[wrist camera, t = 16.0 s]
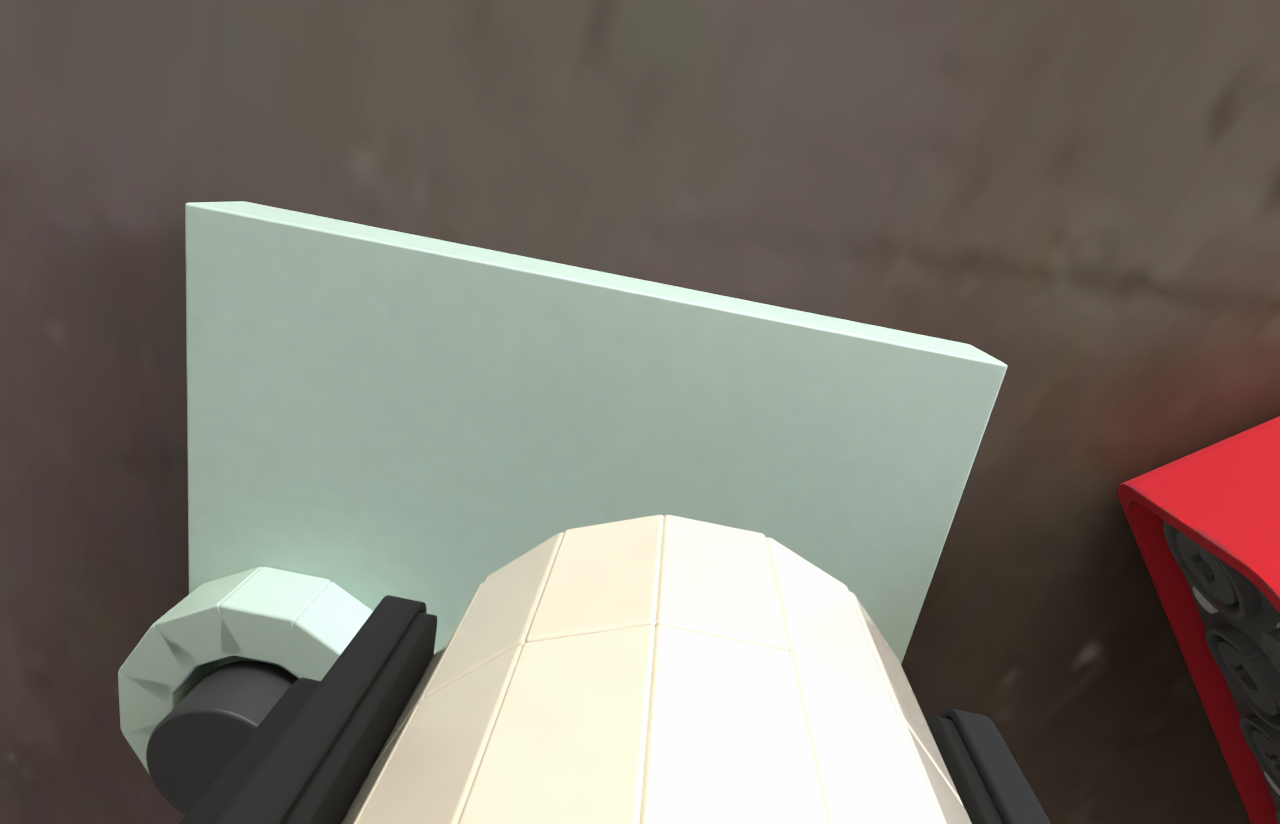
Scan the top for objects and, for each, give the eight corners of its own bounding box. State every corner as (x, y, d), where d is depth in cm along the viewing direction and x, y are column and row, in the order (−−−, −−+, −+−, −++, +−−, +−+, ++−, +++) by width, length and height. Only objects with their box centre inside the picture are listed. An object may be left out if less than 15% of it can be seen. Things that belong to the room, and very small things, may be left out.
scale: (219, 701, 19) (123, 807, 16) (222, 196, 15) (94, 198, 12) (811, 820, 19) (836, 951, 16) (971, 344, 15) (1050, 387, 12)
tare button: (195, 758, 16) (145, 815, 15) (194, 646, 15) (141, 696, 14) (325, 784, 16) (289, 844, 15) (333, 674, 15) (295, 727, 14)
